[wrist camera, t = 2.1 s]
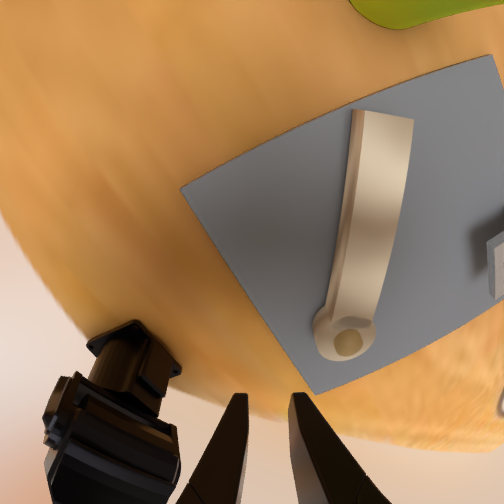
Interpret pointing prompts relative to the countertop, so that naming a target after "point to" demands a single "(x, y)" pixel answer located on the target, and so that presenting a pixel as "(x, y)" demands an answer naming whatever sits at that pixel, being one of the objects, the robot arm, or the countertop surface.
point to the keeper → (496, 265)
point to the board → (329, 212)
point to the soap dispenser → (414, 10)
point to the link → (364, 232)
